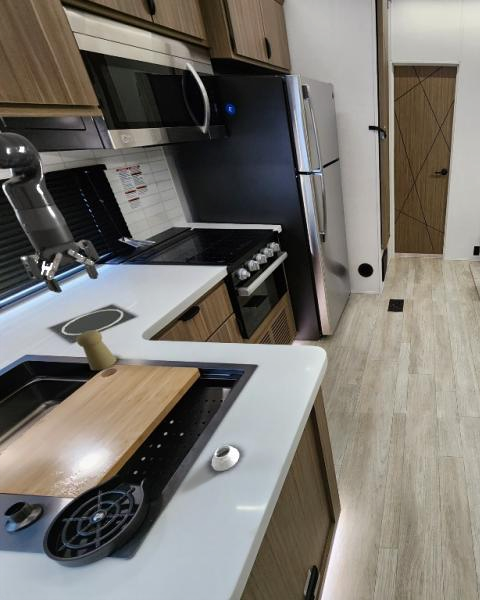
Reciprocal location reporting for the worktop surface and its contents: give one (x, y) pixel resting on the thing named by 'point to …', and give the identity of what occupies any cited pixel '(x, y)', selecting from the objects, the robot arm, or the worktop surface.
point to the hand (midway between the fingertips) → (76, 285)
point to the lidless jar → (225, 458)
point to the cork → (95, 350)
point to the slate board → (92, 322)
